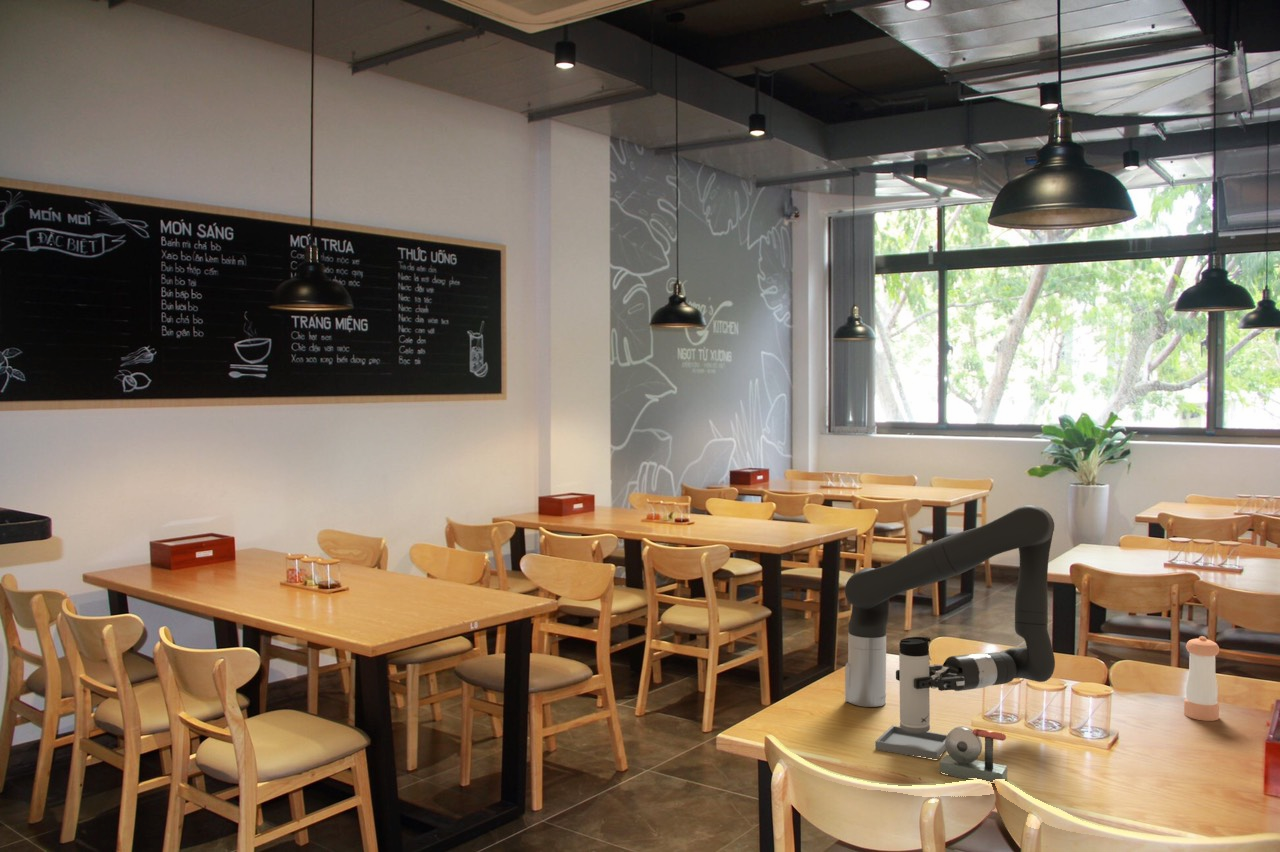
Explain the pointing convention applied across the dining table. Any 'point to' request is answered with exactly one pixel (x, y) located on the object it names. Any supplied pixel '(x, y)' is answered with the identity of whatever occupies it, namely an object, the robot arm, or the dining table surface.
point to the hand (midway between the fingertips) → (905, 679)
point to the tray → (912, 743)
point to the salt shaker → (1202, 680)
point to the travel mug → (913, 699)
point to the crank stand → (971, 755)
